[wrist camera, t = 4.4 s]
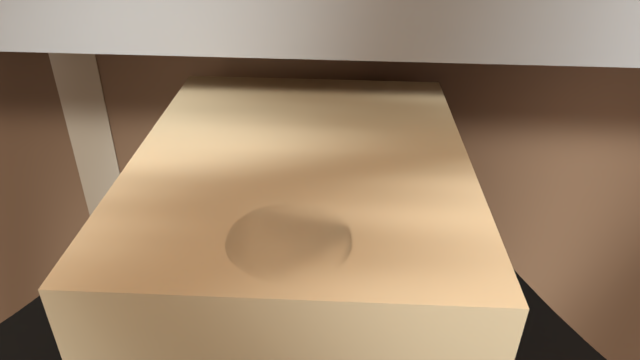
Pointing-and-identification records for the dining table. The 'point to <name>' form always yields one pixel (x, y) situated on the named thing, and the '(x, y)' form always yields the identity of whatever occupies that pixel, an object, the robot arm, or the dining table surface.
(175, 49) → the marking board
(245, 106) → the block
